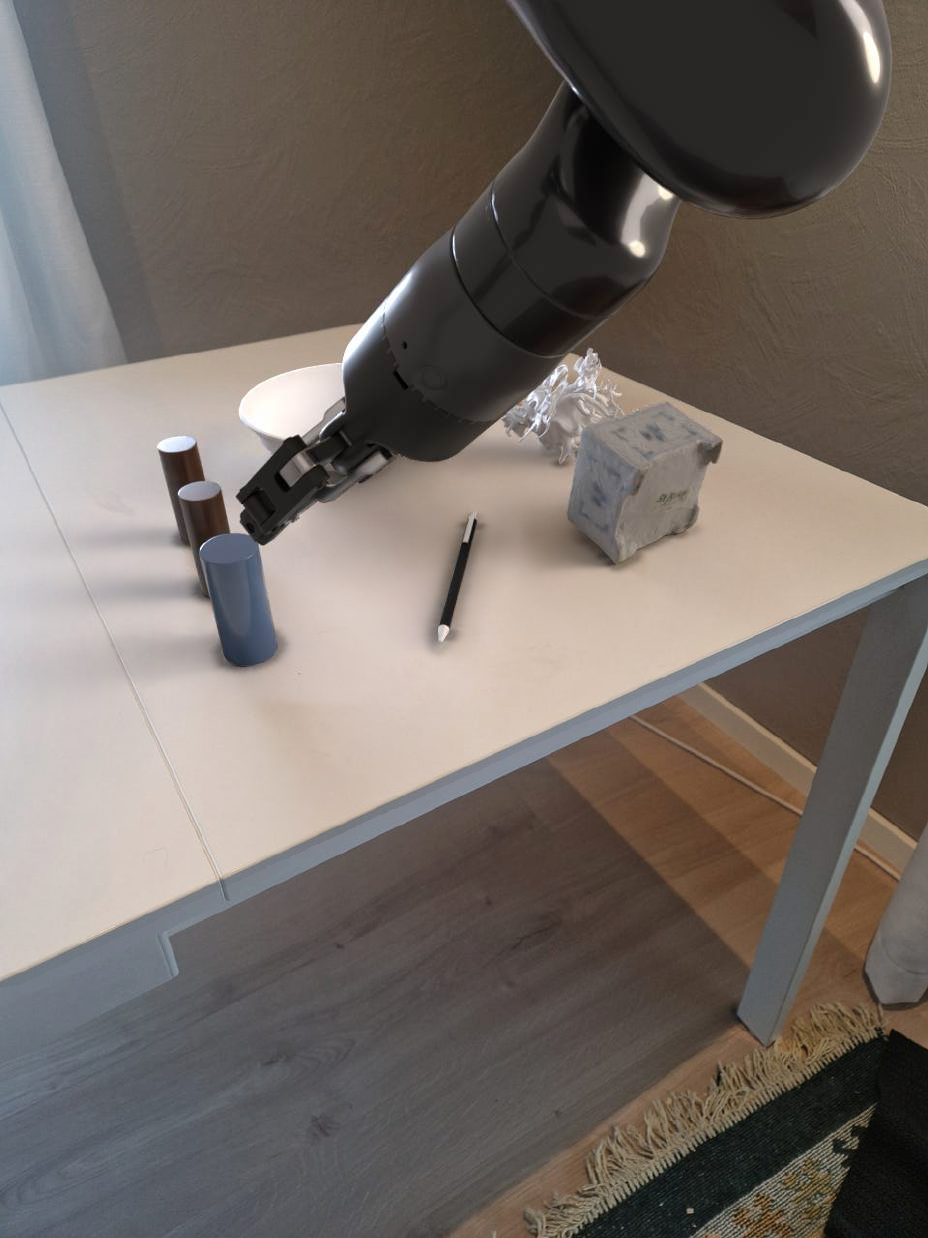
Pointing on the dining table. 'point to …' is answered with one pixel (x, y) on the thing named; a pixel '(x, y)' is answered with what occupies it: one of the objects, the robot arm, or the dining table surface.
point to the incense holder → (640, 478)
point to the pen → (457, 578)
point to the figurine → (564, 408)
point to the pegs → (192, 497)
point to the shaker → (239, 598)
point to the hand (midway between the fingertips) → (305, 498)
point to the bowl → (291, 404)
